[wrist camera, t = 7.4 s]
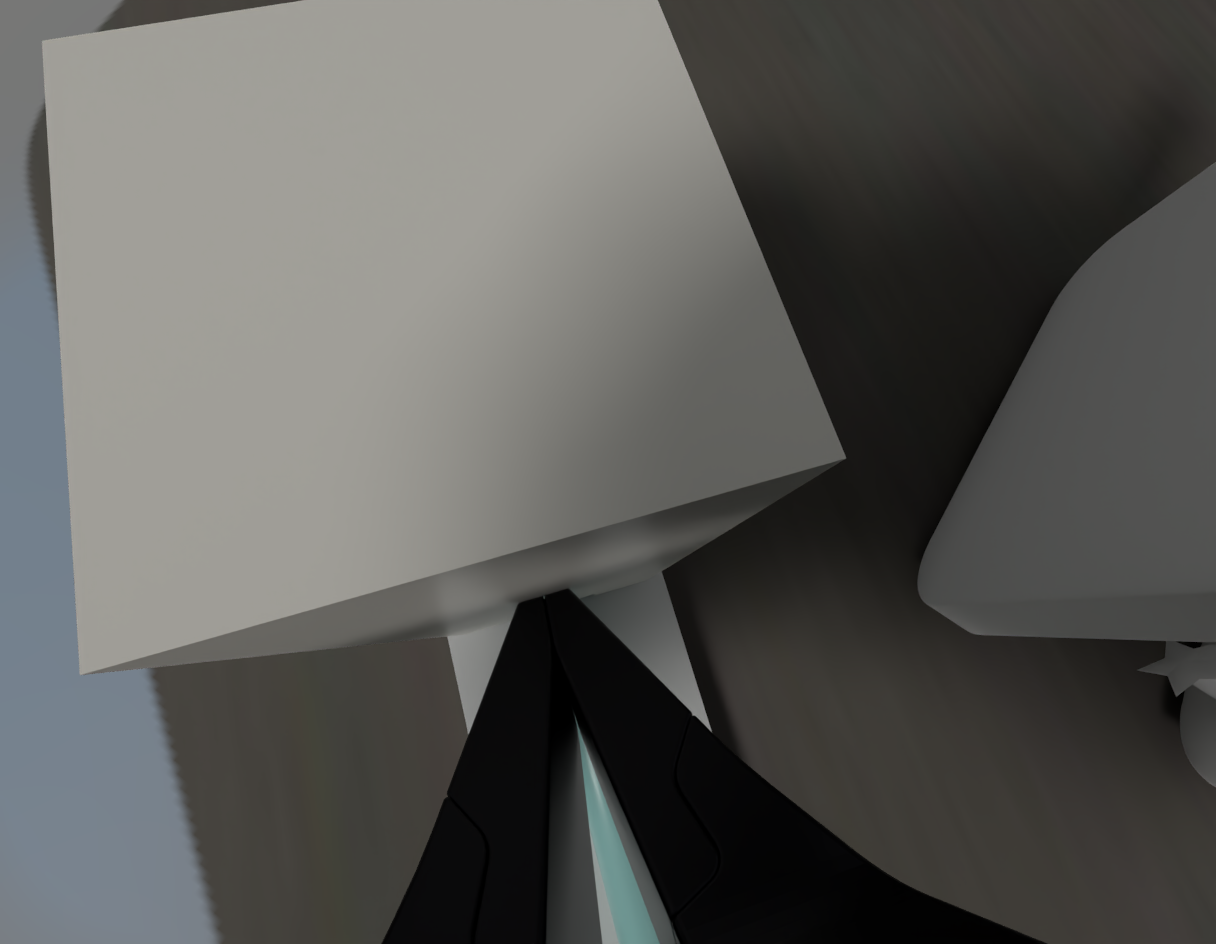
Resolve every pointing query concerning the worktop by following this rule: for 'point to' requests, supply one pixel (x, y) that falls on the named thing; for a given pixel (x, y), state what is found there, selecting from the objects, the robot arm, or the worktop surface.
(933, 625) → the worktop surface
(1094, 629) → the cable organizer
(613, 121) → the grey rectangular box
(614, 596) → the cord rail
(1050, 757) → the worktop surface
